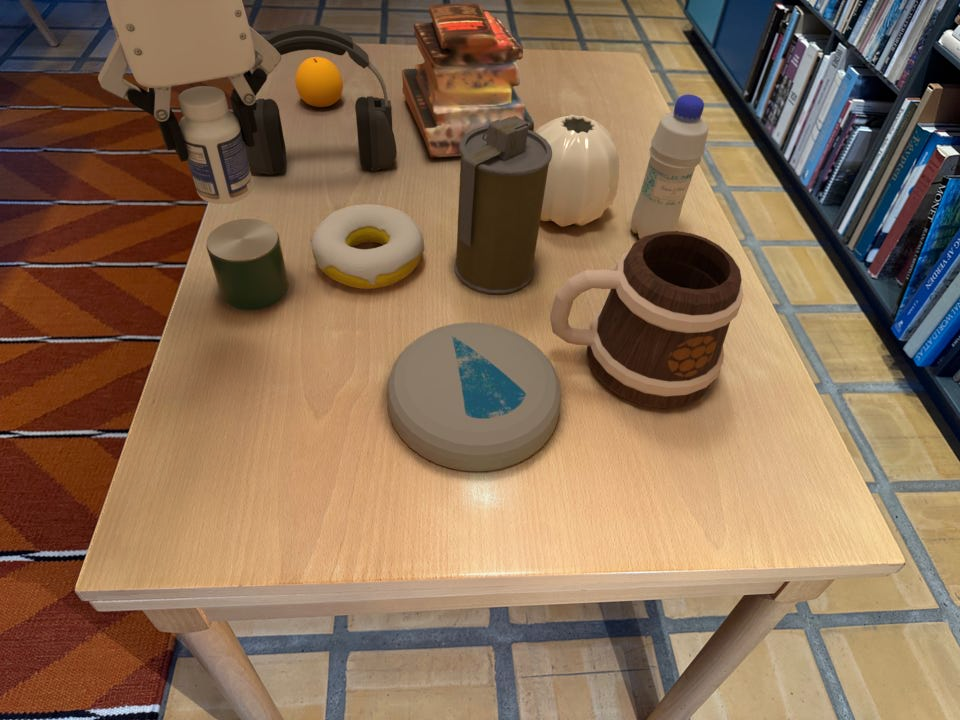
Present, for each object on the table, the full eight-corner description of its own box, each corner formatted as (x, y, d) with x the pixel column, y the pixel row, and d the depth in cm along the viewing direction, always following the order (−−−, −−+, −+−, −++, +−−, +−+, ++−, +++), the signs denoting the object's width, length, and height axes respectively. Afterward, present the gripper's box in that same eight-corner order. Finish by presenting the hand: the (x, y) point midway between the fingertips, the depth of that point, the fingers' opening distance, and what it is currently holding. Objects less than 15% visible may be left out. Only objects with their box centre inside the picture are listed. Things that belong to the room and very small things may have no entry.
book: (535, 157, 104) (550, 48, 92) (426, 166, 101) (426, 54, 88) (497, 92, 119) (506, -9, 106) (401, 98, 115) (398, -7, 103)
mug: (698, 320, 80) (741, 220, 69) (728, 417, 70) (784, 317, 59) (539, 312, 80) (557, 209, 69) (545, 408, 69) (568, 305, 58)
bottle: (631, 247, 90) (672, 109, 75) (622, 218, 94) (659, 83, 80) (678, 248, 90) (728, 111, 75) (667, 220, 95) (712, 85, 80)
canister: (495, 234, 90) (508, 93, 75) (549, 272, 85) (575, 129, 70) (435, 265, 84) (437, 120, 70) (489, 307, 80) (504, 161, 65)
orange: (346, 112, 111) (341, 68, 105) (298, 114, 109) (291, 69, 104) (343, 91, 116) (339, 48, 110) (298, 92, 114) (291, 49, 109)
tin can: (213, 309, 76) (197, 259, 71) (229, 266, 82) (215, 217, 76) (282, 311, 77) (271, 261, 71) (293, 268, 82) (284, 219, 77)
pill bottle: (251, 173, 67) (230, 79, 60) (256, 202, 64) (235, 106, 56) (196, 179, 65) (168, 84, 58) (198, 209, 62) (169, 112, 55)
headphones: (394, 150, 103) (389, 17, 88) (398, 172, 99) (393, 36, 84) (249, 156, 99) (219, 18, 85) (247, 178, 95) (214, 37, 81)
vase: (496, 205, 95) (504, 118, 85) (560, 174, 101) (575, 90, 92) (565, 251, 88) (583, 163, 78) (629, 215, 95) (652, 129, 85)
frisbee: (507, 320, 78) (511, 289, 74) (592, 434, 67) (601, 404, 64) (362, 366, 72) (359, 334, 68) (430, 499, 61) (430, 470, 57)
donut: (434, 238, 88) (435, 207, 85) (408, 304, 79) (407, 273, 75) (336, 221, 89) (332, 190, 86) (299, 285, 80) (292, 253, 76)
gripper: (255, -98, 53) (288, 112, 67) (19, -83, 47) (109, 148, 60) (286, -73, 49) (315, 146, 62) (32, -52, 42) (126, 188, 56)
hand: (214, 145), depth 61 cm, fingers closed on pill bottle, 5 cm apart
